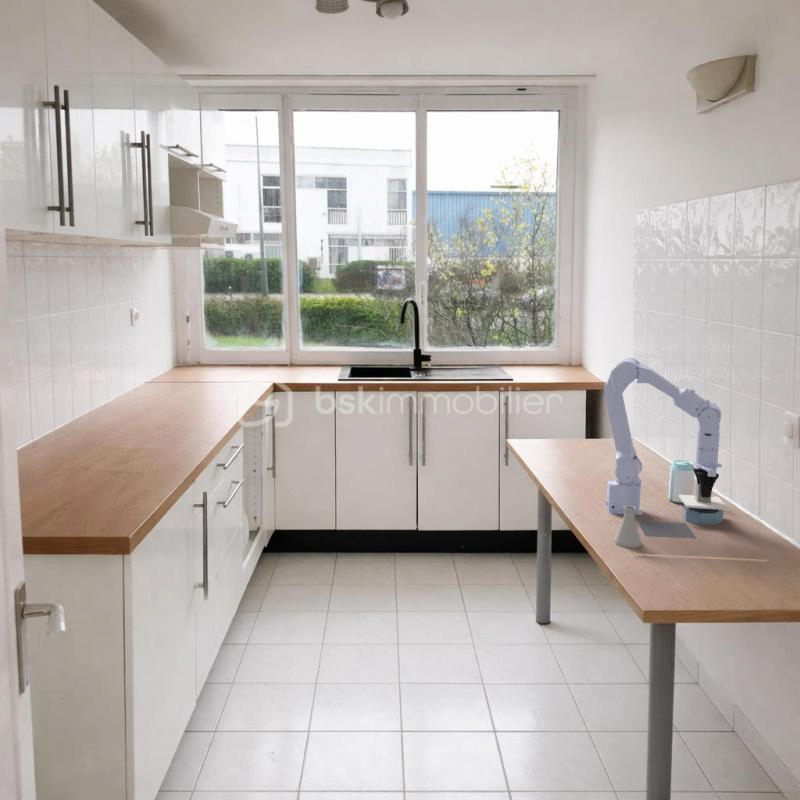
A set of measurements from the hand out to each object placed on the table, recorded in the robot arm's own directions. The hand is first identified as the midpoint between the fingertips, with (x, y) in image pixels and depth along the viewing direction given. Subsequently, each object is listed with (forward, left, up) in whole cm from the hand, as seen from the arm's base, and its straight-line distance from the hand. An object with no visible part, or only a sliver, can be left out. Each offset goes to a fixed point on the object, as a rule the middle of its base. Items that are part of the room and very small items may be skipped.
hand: (704, 495), depth 249 cm
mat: (-12, -11, -7) cm, 18 cm away
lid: (0, 0, -2) cm, 2 cm away
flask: (-24, -24, -8) cm, 35 cm away
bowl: (0, 0, -7) cm, 7 cm away
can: (-2, +20, -8) cm, 21 cm away
